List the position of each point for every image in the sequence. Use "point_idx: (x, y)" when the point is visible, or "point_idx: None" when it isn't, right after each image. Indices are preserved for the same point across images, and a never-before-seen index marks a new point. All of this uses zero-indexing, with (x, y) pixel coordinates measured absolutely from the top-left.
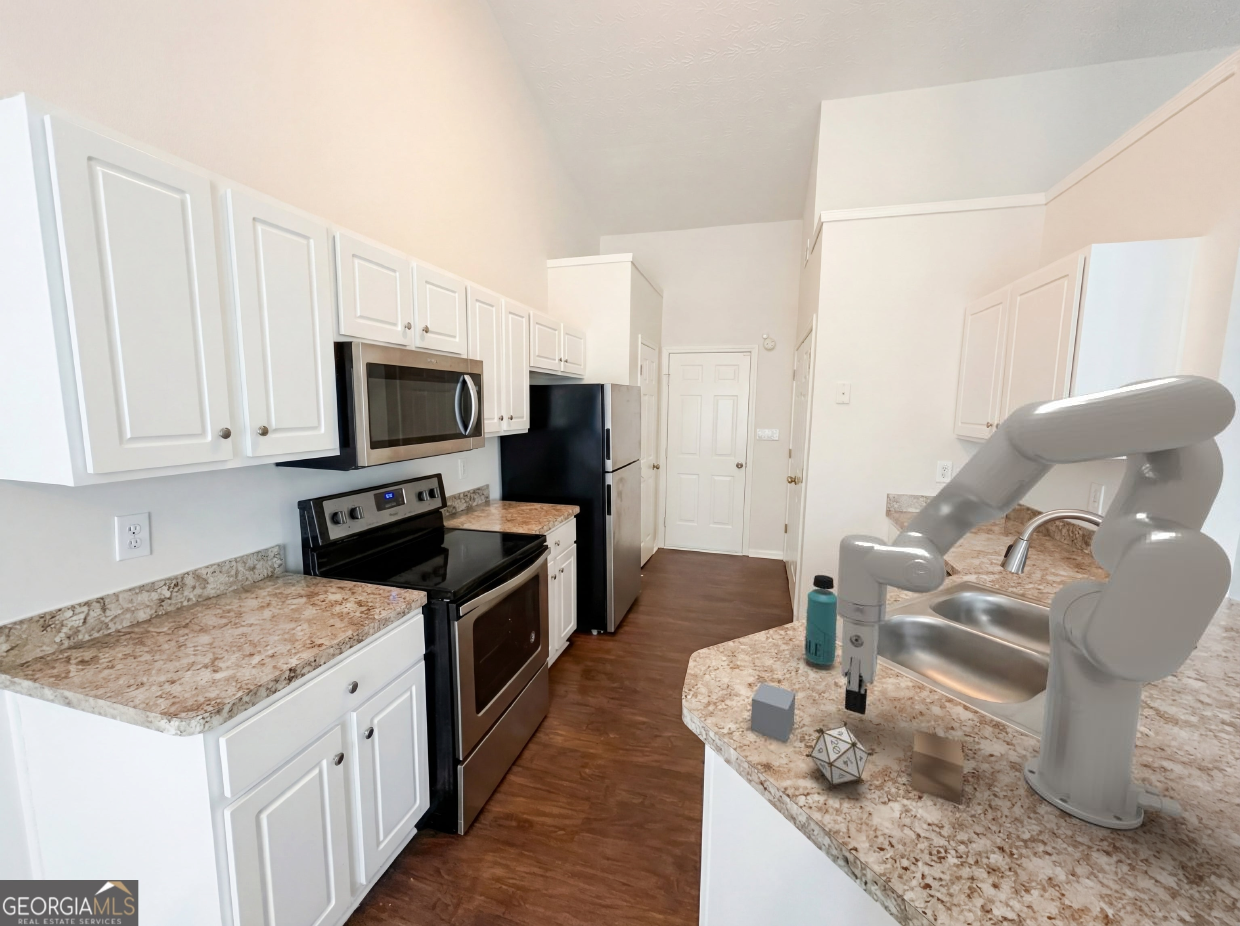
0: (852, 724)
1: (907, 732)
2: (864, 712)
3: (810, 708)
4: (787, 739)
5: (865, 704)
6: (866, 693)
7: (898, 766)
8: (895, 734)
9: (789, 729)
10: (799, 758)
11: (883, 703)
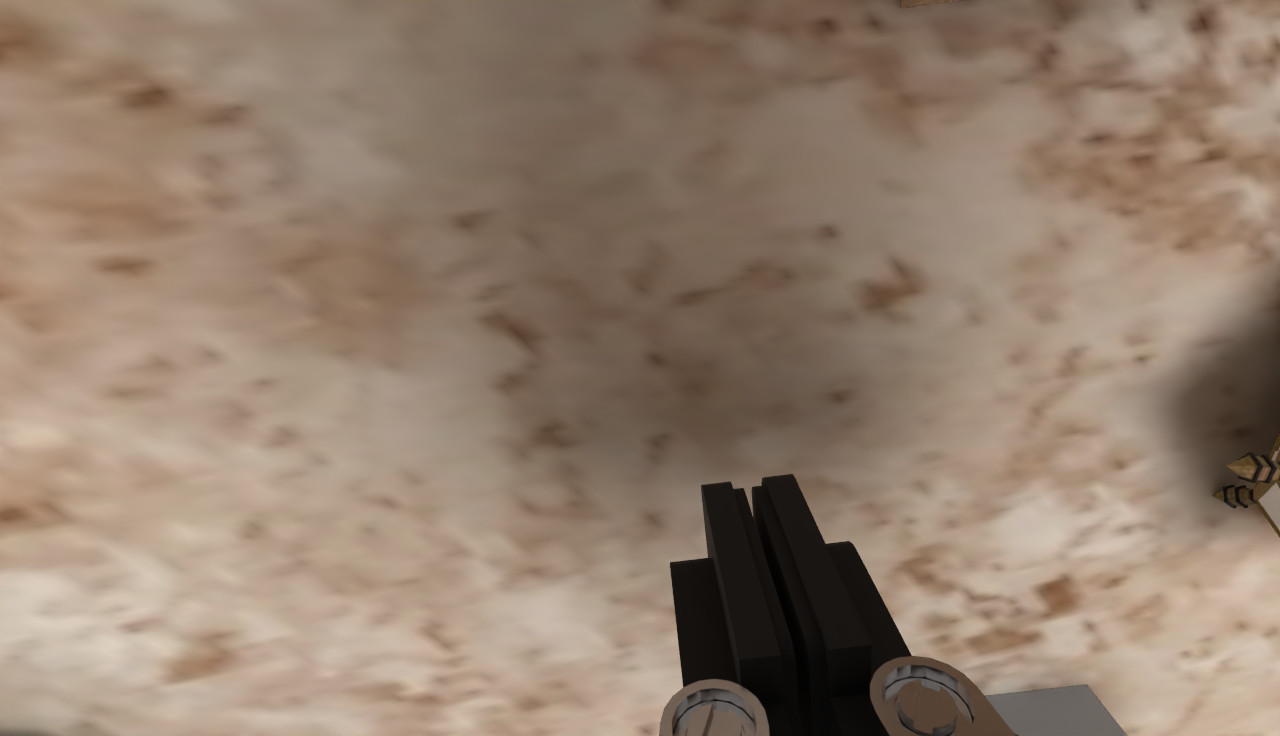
0: (652, 468)
1: (455, 109)
2: (793, 486)
3: (648, 692)
4: (1051, 689)
5: (820, 537)
6: (766, 618)
7: (997, 96)
8: (562, 191)
9: (1027, 726)
10: (1197, 601)
11: (158, 355)
